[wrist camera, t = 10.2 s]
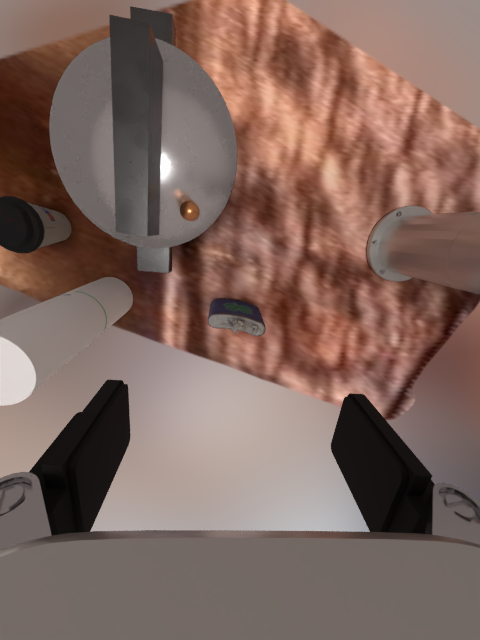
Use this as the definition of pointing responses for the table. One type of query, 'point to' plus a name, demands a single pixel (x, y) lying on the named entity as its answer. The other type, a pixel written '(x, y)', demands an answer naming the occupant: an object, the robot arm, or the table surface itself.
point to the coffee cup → (30, 225)
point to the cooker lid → (143, 138)
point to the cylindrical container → (55, 334)
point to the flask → (236, 316)
